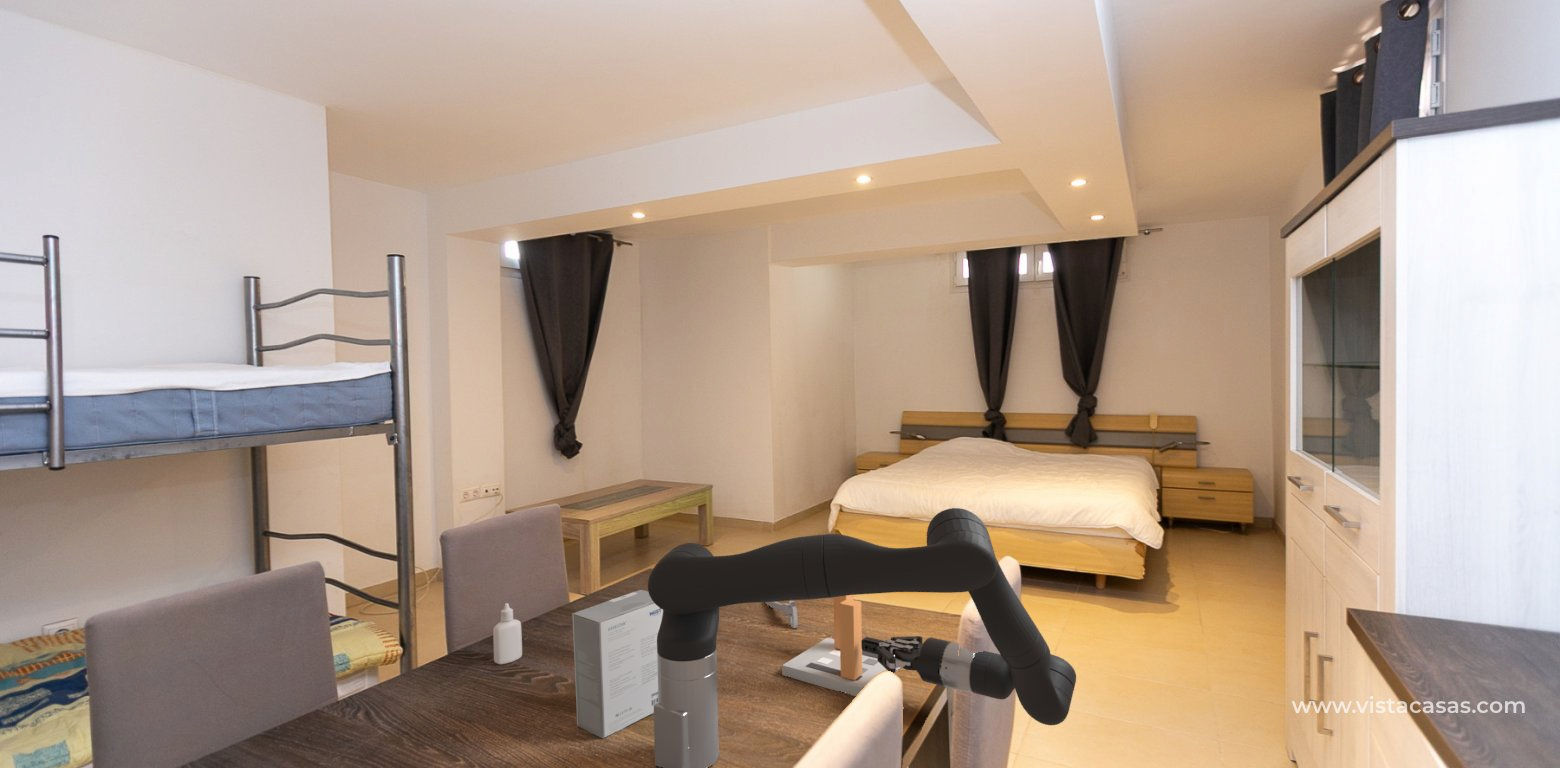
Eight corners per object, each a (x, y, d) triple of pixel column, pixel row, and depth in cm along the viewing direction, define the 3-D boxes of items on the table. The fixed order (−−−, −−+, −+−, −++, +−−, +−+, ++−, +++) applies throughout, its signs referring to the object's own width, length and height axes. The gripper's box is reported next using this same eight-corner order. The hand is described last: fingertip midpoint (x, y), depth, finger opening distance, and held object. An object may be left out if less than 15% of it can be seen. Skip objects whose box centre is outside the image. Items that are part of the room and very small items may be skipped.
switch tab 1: (846, 651, 148) (845, 583, 148) (834, 648, 150) (833, 581, 150) (854, 646, 151) (853, 580, 150) (841, 643, 152) (840, 577, 152)
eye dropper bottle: (493, 658, 153) (492, 602, 153) (521, 653, 156) (520, 598, 155) (494, 666, 149) (492, 608, 149) (523, 661, 151) (521, 604, 151)
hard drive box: (645, 693, 136) (642, 588, 135) (672, 704, 131) (670, 596, 130) (574, 726, 124) (571, 611, 123) (602, 740, 119) (599, 621, 118)
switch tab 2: (854, 680, 135) (853, 606, 134) (840, 676, 136) (839, 603, 136) (862, 674, 137) (861, 601, 137) (848, 670, 139) (847, 598, 138)
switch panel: (862, 698, 132) (862, 687, 132) (782, 675, 143) (782, 664, 142) (903, 665, 146) (903, 655, 146) (827, 646, 156) (827, 637, 156)
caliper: (798, 629, 167) (797, 603, 167) (793, 630, 167) (793, 603, 167) (767, 603, 186) (767, 578, 186) (763, 603, 186) (763, 579, 186)
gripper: (965, 631, 130) (879, 613, 140) (935, 656, 119) (845, 634, 130) (965, 672, 130) (879, 651, 141) (936, 701, 120) (845, 675, 130)
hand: (863, 643), depth 135 cm, fingers closed
